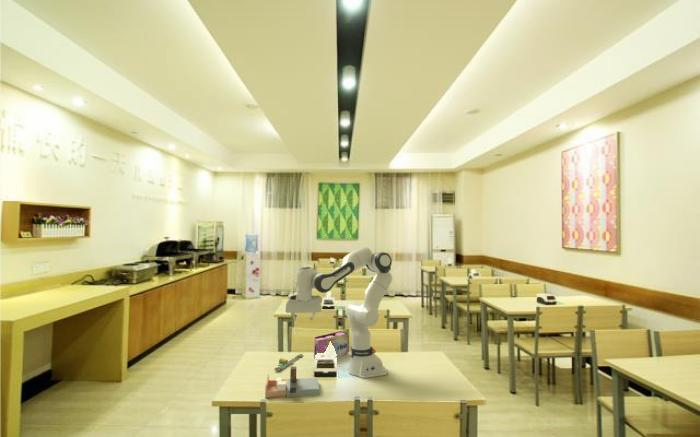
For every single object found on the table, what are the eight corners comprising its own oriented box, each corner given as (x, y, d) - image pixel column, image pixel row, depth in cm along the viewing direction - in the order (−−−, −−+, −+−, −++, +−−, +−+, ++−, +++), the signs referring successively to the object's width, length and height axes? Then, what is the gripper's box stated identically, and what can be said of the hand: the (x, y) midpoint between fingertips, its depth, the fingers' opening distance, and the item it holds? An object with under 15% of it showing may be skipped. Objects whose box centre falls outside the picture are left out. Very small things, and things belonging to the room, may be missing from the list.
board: (317, 383, 184) (317, 377, 184) (319, 394, 171) (319, 388, 171) (287, 384, 181) (287, 379, 181) (286, 396, 168) (286, 390, 169)
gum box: (319, 362, 213) (319, 340, 213) (311, 358, 219) (312, 337, 219) (348, 354, 229) (348, 333, 229) (340, 350, 235) (341, 330, 235)
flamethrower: (267, 370, 199) (282, 374, 196) (267, 365, 199) (282, 369, 196) (292, 354, 226) (305, 357, 223) (292, 350, 227) (306, 353, 223)
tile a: (281, 377, 180) (276, 377, 180) (281, 380, 176) (275, 380, 176) (281, 385, 180) (275, 385, 179) (281, 388, 176) (275, 388, 176)
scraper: (296, 377, 184) (296, 361, 185) (296, 392, 166) (296, 375, 167) (290, 377, 184) (290, 361, 184) (289, 393, 166) (290, 375, 166)
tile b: (285, 386, 173) (285, 380, 173) (285, 390, 169) (285, 384, 169) (277, 387, 172) (277, 381, 172) (277, 390, 168) (277, 384, 168)
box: (286, 384, 181) (286, 373, 181) (286, 396, 168) (286, 384, 169) (267, 385, 180) (267, 374, 180) (265, 398, 167) (265, 385, 167)
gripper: (321, 294, 199) (321, 318, 199) (286, 294, 196) (285, 319, 195) (322, 296, 193) (321, 321, 192) (285, 297, 190) (285, 322, 189)
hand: (303, 320), depth 194 cm, fingers open, 8 cm apart
